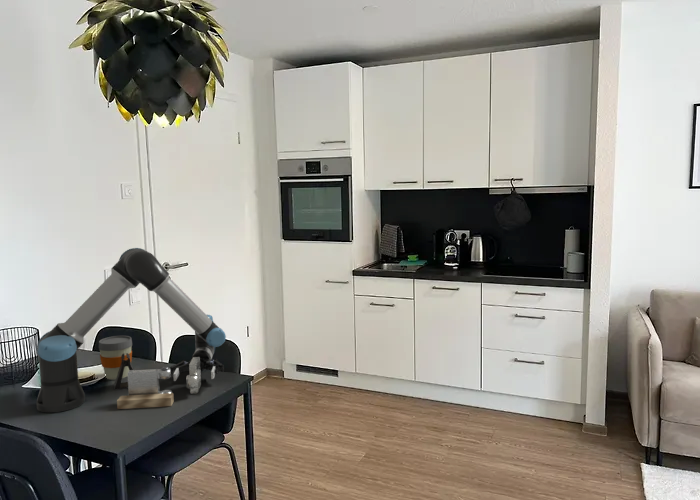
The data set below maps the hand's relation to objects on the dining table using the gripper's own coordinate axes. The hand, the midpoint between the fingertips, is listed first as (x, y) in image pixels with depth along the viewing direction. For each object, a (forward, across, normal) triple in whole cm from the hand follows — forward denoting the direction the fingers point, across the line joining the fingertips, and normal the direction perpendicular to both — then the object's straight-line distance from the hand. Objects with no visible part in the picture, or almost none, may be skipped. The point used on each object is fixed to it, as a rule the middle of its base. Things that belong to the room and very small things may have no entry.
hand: (193, 376), depth 199 cm
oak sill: (+10, +15, -6) cm, 19 cm away
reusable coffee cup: (-24, +34, -6) cm, 42 cm away
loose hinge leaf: (-2, 0, -6) cm, 6 cm away
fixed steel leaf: (+5, +14, -6) cm, 16 cm away
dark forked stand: (-12, +27, -6) cm, 30 cm away
